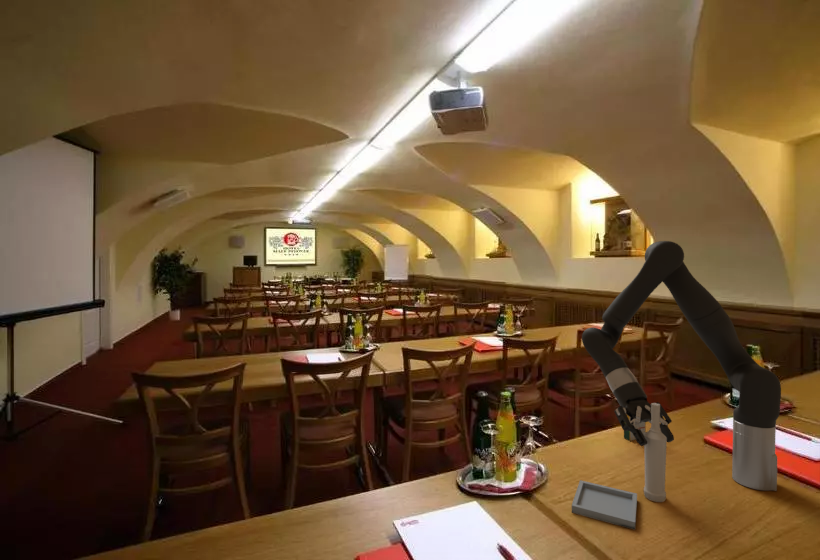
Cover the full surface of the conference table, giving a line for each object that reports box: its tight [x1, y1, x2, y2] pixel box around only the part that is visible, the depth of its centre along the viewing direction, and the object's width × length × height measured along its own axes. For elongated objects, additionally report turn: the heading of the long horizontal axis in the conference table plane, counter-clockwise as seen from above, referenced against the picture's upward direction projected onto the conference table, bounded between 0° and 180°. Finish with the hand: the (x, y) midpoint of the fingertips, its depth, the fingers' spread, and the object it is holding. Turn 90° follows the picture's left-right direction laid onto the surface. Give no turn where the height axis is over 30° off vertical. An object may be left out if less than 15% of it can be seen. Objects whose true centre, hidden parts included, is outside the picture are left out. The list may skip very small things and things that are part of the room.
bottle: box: [643, 402, 668, 503], centre depth 110 cm, size 5×5×25 cm
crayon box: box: [623, 414, 647, 442], centre depth 148 cm, size 7×3×12 cm, turn 108°
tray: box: [571, 479, 638, 531], centre depth 106 cm, size 14×14×2 cm
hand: (658, 442), depth 109 cm, fingers open, 8 cm apart
